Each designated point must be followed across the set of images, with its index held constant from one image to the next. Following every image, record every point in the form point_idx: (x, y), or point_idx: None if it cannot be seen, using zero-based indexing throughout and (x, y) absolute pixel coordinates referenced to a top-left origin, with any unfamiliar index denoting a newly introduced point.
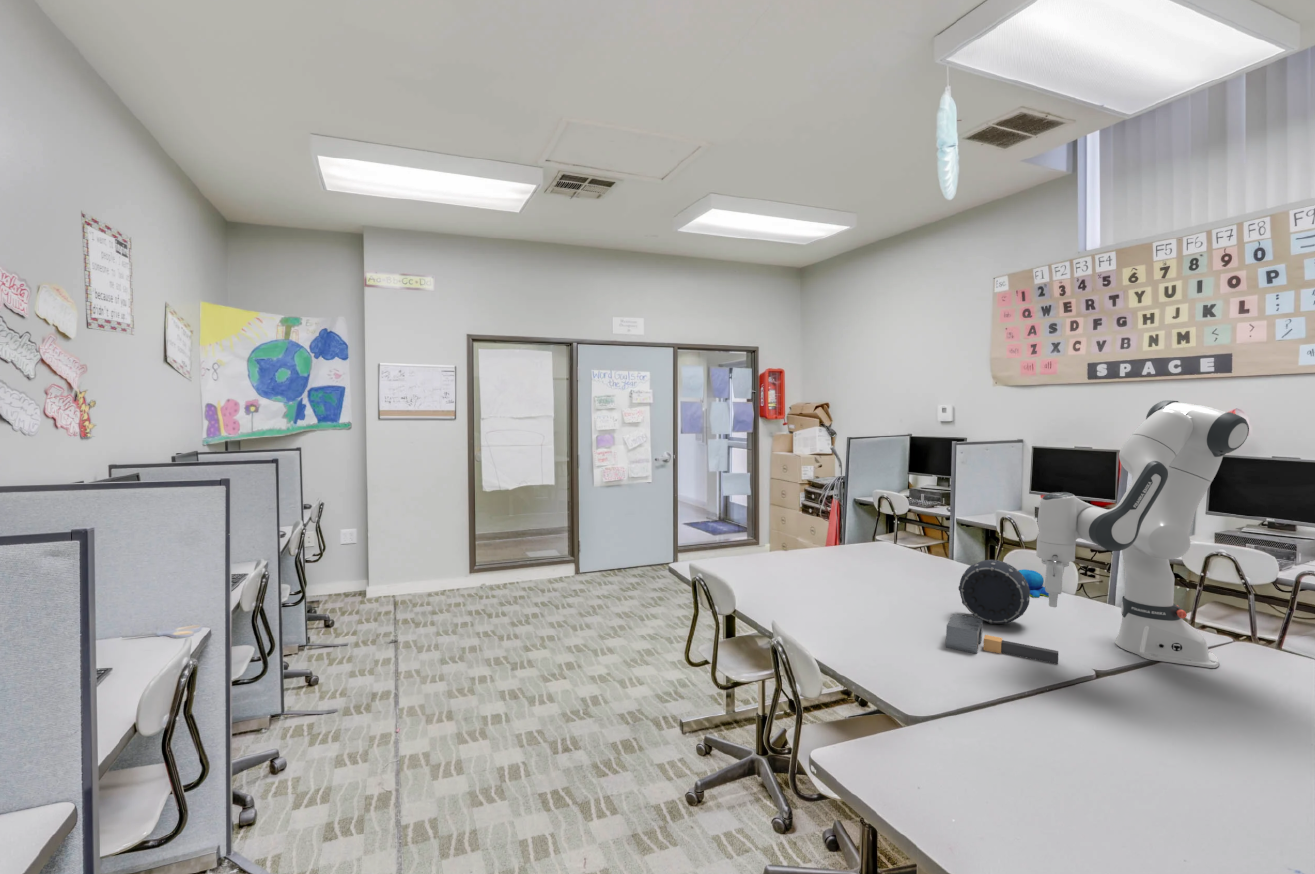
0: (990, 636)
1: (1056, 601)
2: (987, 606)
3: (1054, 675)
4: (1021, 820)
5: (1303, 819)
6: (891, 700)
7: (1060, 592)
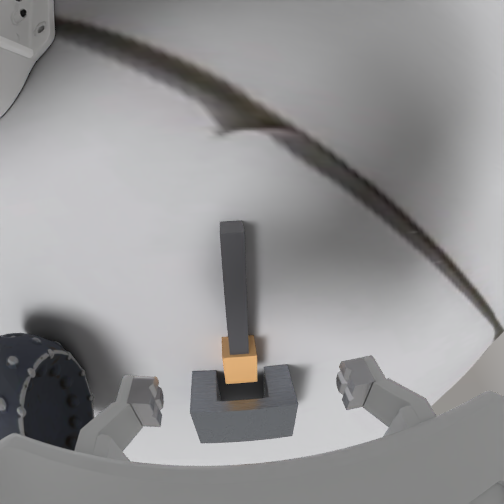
0: (231, 375)
1: (385, 378)
2: (61, 395)
3: (333, 223)
4: None
5: None
6: (471, 363)
7: (501, 395)
